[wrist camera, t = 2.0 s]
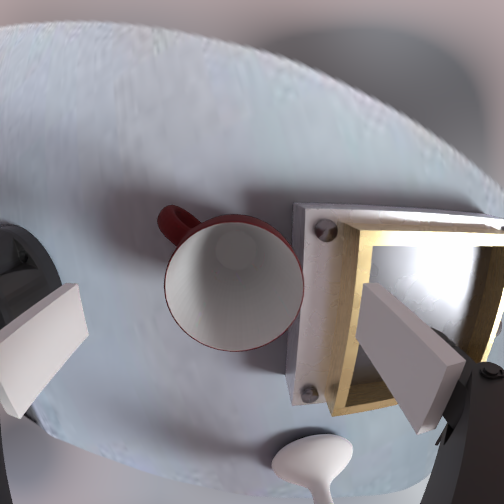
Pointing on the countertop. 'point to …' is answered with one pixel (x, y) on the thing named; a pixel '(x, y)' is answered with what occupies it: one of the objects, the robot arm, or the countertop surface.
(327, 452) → the flower in vase
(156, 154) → the countertop surface
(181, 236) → the mug
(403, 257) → the gold rimmed tray box
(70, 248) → the countertop surface
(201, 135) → the countertop surface
